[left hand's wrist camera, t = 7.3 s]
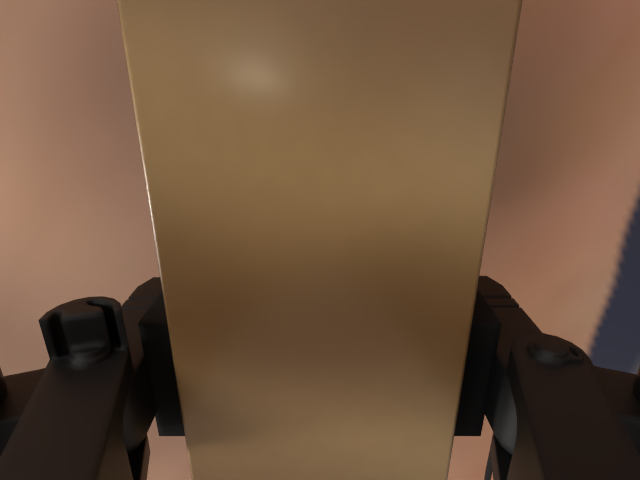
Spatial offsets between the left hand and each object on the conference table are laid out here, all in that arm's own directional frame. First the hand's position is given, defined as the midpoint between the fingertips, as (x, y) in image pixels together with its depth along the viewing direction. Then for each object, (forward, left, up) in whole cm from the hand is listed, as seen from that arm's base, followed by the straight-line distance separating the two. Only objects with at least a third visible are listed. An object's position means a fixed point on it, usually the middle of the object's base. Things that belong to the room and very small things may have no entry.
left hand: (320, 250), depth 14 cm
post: (-17, +19, -1) cm, 26 cm away
